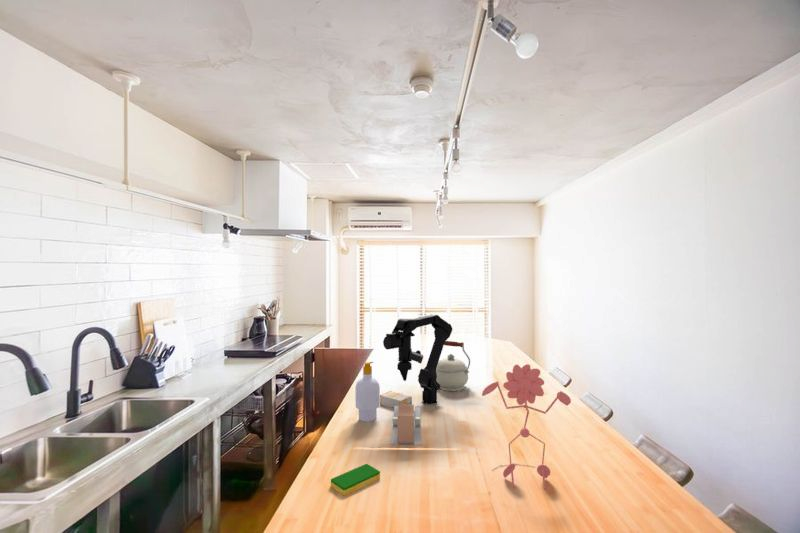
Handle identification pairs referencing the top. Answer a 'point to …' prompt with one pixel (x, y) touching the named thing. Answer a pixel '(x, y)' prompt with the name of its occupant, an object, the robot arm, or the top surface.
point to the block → (405, 423)
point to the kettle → (452, 370)
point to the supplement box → (394, 399)
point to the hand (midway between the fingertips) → (404, 380)
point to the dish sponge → (355, 479)
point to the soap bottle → (367, 395)
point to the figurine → (525, 389)
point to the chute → (416, 428)
